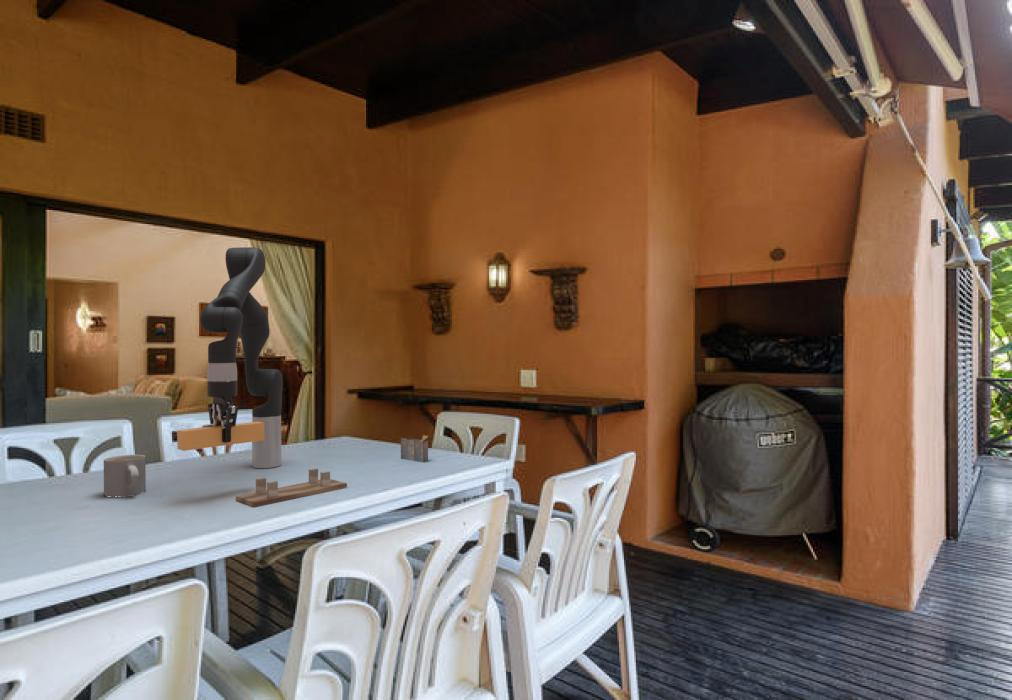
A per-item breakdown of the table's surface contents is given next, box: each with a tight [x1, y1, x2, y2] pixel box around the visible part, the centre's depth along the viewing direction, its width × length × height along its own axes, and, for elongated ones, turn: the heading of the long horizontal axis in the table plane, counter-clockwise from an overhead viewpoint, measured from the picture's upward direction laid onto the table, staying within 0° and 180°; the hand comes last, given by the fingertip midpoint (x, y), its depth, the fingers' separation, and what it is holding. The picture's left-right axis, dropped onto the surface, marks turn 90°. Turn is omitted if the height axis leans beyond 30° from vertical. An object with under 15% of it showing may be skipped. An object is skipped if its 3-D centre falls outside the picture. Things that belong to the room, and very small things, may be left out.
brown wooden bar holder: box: [235, 468, 348, 508], centre depth 169 cm, size 10×28×5 cm, turn 139°
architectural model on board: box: [400, 434, 429, 463], centre depth 218 cm, size 11×3×10 cm, turn 53°
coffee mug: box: [103, 454, 147, 497], centre depth 168 cm, size 13×10×10 cm
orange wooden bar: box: [176, 421, 265, 451], centre depth 167 cm, size 4×22×5 cm, turn 139°
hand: (222, 441), depth 167 cm, fingers closed on orange wooden bar, 4 cm apart
